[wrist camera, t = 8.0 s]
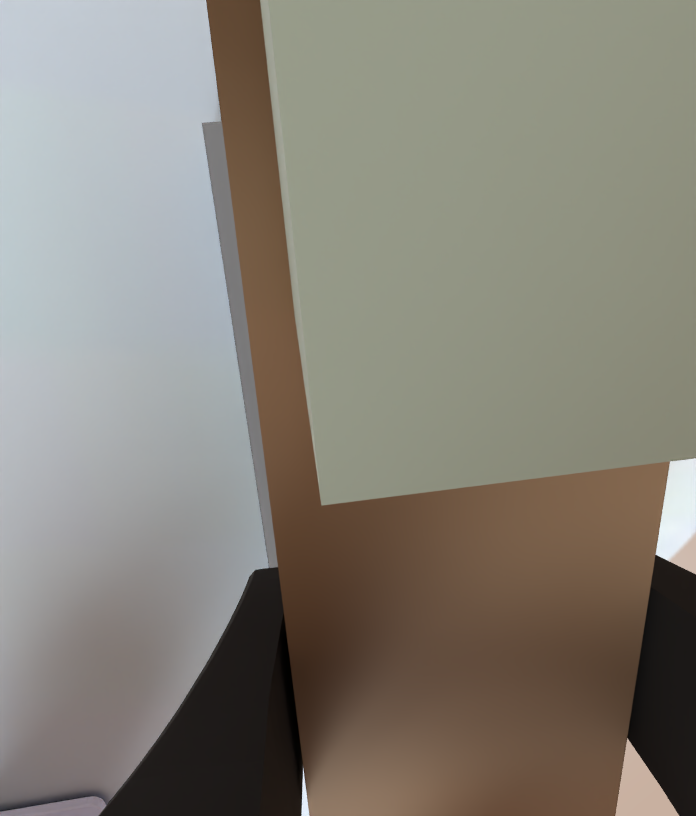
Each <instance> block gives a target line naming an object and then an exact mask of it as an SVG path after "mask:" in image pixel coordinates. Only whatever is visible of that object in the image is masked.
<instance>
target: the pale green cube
mask: <svg viewBox="0 0 696 816" xmlns="http://www.w3.org/2000/svg"><path fill="white" fill-rule="evenodd" d="M260 5H261V14H262V23H263V32H264V41H265V50H266V59H267V69H268V78H269V87H270V96H271V105H272V114H273V123H274V132H275V142H276V151H277V160H278V169H279V178H280V187H281V196H282V206H283V215H284V224H285V233H286V242H287V251H288V260H289V269H290V279H291V288H292V297H293V306H294V315H295V322H296V329H297V336H298V343H299V350H300V357H301V364H302V371H303V379H304V386H305V393H306V400H307V407H308V414H309V421H310V428H311V435H312V442H313V449H314V456H315V463H316V470H317V477H318V485H319V492H320V499H321V506H322V505H330V504H338V503H346V502H354V501H361V500H369V499H377V498H385V497H393V496H401V495H409V494H417V493H425V492H433V491H440V490H448V489H456V488H464V487H472V486H480V485H488V484H496V483H504V482H511V481H519V480H527V479H535V478H543V477H551V476H559V475H567V474H575V473H583V472H590V471H598V470H606V469H614V468H622V467H630V466H638V465H646V464H654V463H661V462H669V461H677V460H685V459H693V458H696V0H260Z"/></svg>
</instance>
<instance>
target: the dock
mask: <svg viewBox="0 0 696 816" xmlns="http://www.w3.org/2000/svg"><path fill="white" fill-rule="evenodd" d="M202 126H203V133H204V140H205V146H206V153H207V160H208V166H209V173H210V179H211V186H212V193H213V199H214V206H215V212H216V219H217V226H218V232H219V239H220V246H221V252H222V259H223V265H224V272H225V279H226V285H227V292H228V298H229V305H230V312H231V318H232V325H233V332H234V338H235V345H236V351H237V358H238V365H239V371H240V378H241V384H242V391H243V398H244V404H245V411H246V418H247V424H248V431H249V437H250V444H251V451H252V457H253V464H254V470H255V477H256V484H257V490H258V497H259V504H260V510H261V517H262V523H263V530H264V537H265V543H266V550H267V556H268V563H269V568H274V567H278V562H277V555H276V547H275V539H274V531H273V523H272V515H271V507H270V499H269V491H268V484H267V476H266V468H265V460H264V452H263V444H262V436H261V428H260V420H259V413H258V405H257V397H256V389H255V381H254V373H253V365H252V357H251V349H250V341H249V334H248V326H247V318H246V310H245V302H244V294H243V286H242V278H241V270H240V263H239V255H238V247H237V239H236V231H235V223H234V215H233V207H232V199H231V192H230V184H229V176H228V168H227V160H226V152H225V144H224V136H223V128H222V122H210V123H202Z"/></svg>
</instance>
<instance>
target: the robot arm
mask: <svg viewBox="0 0 696 816" xmlns="http://www.w3.org/2000/svg"><path fill="white" fill-rule="evenodd" d="M627 738H628V739H629V741H630V742H631V744H632V745H633V747H634V748H635V750H636V751H637V753H638V754H639V755H640V757H641V758H642V760H643V761H644V763H645V764H646V766H647V767H648V769H649V770H650V772H651V773H652V774H653V776H654V777H655V779H656V780H657V782H658V783H659V784H660V786H661V788H662V789H663V791H664V792H665V794H666V795H667V797H668V799H669V800H670V802H671V803H672V805H673V806H674V808H675V809H676V811H677V813H678V814H679V816H696V574H693V573H692V572H689V571H687V570H685V569H683V568H681V567H679V566H677V565H675V564H673V563H671V562H669V561H667V560H665V559H663V558H661V557H659V556H657V555H655V561H654V567H653V574H652V580H651V587H650V593H649V600H648V606H647V613H646V619H645V626H644V632H643V638H642V645H641V651H640V658H639V664H638V671H637V677H636V684H635V690H634V697H633V703H632V710H631V716H630V723H629V729H628V736H627ZM302 779H303V760H302V752H301V744H300V736H299V728H298V720H297V712H296V705H295V697H294V689H293V681H292V673H291V665H290V657H289V649H288V641H287V633H286V626H285V618H284V610H283V602H282V594H281V586H280V578H279V570H278V567H274V568H267V569H259V570H255V571H254V572H253V573H252V574H251V576H250V577H249V580H248V582H247V585H246V587H245V590H244V592H243V594H242V596H241V599H240V601H239V603H238V605H237V607H236V609H235V611H234V613H233V615H232V617H231V619H230V621H229V623H228V625H227V627H226V629H225V631H224V633H223V635H222V636H221V638H220V640H219V642H218V644H217V646H216V647H215V649H214V651H213V653H212V655H211V657H210V658H209V660H208V662H207V663H206V665H205V667H204V669H203V670H202V672H201V673H200V675H199V677H198V678H197V680H196V681H195V683H194V685H193V686H192V688H191V689H190V691H189V693H188V694H187V696H186V697H185V699H184V701H183V702H182V704H181V705H180V707H179V709H178V710H177V712H176V713H175V715H174V716H173V717H172V719H171V720H170V722H169V723H168V725H167V726H166V728H165V729H164V731H163V732H162V733H161V735H160V736H159V738H158V739H157V741H156V742H155V743H154V745H153V746H152V747H151V749H150V750H149V751H148V753H147V754H146V756H145V757H144V758H143V760H142V761H141V762H140V764H139V765H138V766H137V768H136V769H135V770H134V772H133V773H132V774H131V776H130V777H129V778H128V779H127V781H126V782H125V783H124V784H123V786H122V787H121V788H120V789H119V791H118V792H117V793H116V794H115V796H114V797H113V798H112V799H111V801H110V802H109V803H108V804H107V806H106V804H105V802H104V801H103V799H101V798H99V797H96V796H90V797H84V798H78V799H72V800H66V801H60V802H54V803H48V804H43V805H37V806H31V807H25V808H19V809H13V810H7V811H1V812H0V816H301V810H302Z"/></svg>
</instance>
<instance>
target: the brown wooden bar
mask: <svg viewBox="0 0 696 816" xmlns="http://www.w3.org/2000/svg"><path fill="white" fill-rule="evenodd" d="M206 2H207V10H208V18H209V26H210V34H211V42H212V49H213V57H214V65H215V73H216V81H217V89H218V97H219V105H220V113H221V120H222V128H223V136H224V144H225V152H226V160H227V168H228V176H229V184H230V192H231V199H232V207H233V215H234V223H235V231H236V239H237V247H238V255H239V263H240V270H241V278H242V286H243V294H244V302H245V310H246V318H247V326H248V334H249V341H250V349H251V357H252V365H253V373H254V381H255V389H256V397H257V405H258V413H259V420H260V428H261V436H262V444H263V452H264V460H265V468H266V476H267V484H268V491H269V499H270V507H271V515H272V523H273V531H274V539H275V547H276V555H277V562H278V570H279V578H280V586H281V594H282V602H283V610H284V618H285V626H286V633H287V641H288V649H289V657H290V665H291V673H292V681H293V689H294V697H295V705H296V712H297V720H298V728H299V736H300V744H301V752H302V760H303V768H304V776H305V783H306V791H307V799H308V807H309V815H310V816H615V813H616V807H617V800H618V794H619V787H620V781H621V775H622V768H623V761H624V755H625V748H626V742H627V736H628V729H629V723H630V716H631V710H632V703H633V697H634V690H635V684H636V677H637V671H638V664H639V658H640V651H641V645H642V638H643V632H644V626H645V619H646V613H647V606H648V600H649V593H650V587H651V580H652V574H653V567H654V561H655V554H656V548H657V541H658V535H659V528H660V522H661V515H662V509H663V502H664V496H665V489H666V483H667V476H668V470H669V464H670V461H669V462H661V463H654V464H646V465H638V466H630V467H622V468H614V469H606V470H598V471H590V472H583V473H575V474H567V475H559V476H551V477H543V478H535V479H527V480H519V481H511V482H504V483H496V484H488V485H480V486H472V487H464V488H456V489H448V490H440V491H433V492H425V493H417V494H409V495H401V496H393V497H385V498H377V499H369V500H361V501H354V502H346V503H338V504H330V505H322V506H321V499H320V492H319V485H318V477H317V470H316V463H315V456H314V449H313V442H312V435H311V428H310V421H309V414H308V407H307V400H306V393H305V386H304V379H303V371H302V364H301V357H300V350H299V343H298V336H297V329H296V322H295V315H294V306H293V297H292V288H291V279H290V269H289V260H288V251H287V242H286V233H285V224H284V215H283V206H282V196H281V187H280V178H279V169H278V160H277V151H276V142H275V132H274V123H273V114H272V105H271V96H270V87H269V78H268V69H267V59H266V50H265V41H264V32H263V23H262V14H261V5H260V0H206Z"/></svg>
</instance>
